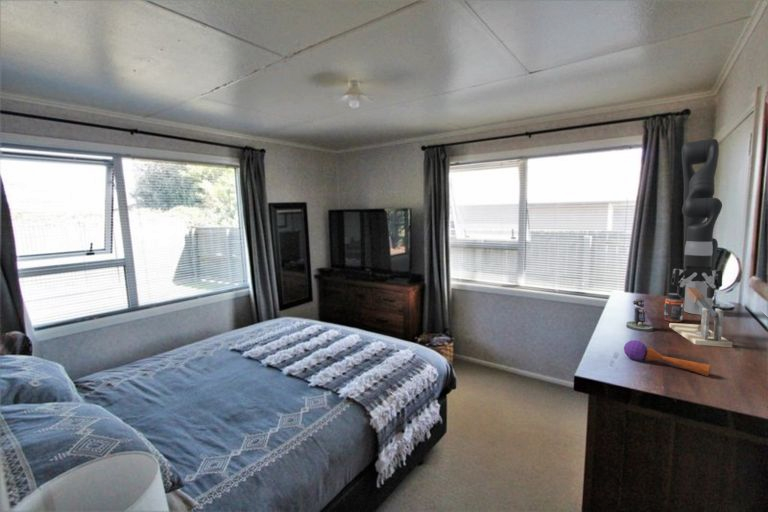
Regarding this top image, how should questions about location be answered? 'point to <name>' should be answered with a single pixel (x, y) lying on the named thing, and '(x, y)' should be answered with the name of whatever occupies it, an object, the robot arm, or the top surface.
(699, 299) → the lever
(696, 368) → the two-tone long tapered part
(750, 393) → the top surface
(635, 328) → the figurine
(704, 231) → the robot arm
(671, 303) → the supplement bottle
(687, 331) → the base
